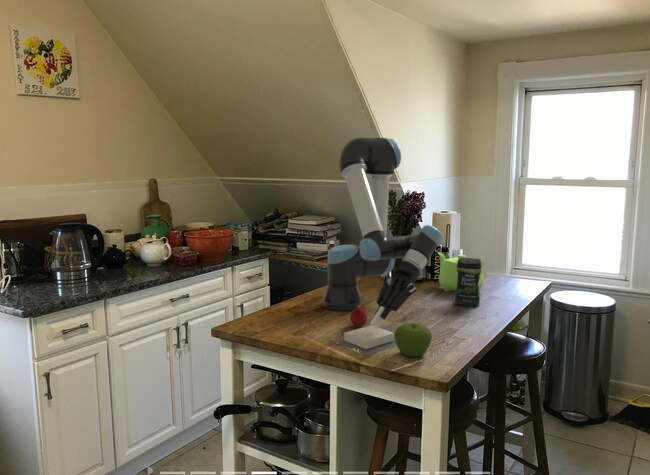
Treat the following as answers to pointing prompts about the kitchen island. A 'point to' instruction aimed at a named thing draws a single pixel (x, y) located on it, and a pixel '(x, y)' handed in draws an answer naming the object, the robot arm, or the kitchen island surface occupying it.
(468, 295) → the coffee jar
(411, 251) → the robot arm
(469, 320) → the kitchen island surface
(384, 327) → the mat
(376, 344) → the tile
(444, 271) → the teapot
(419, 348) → the apple
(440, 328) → the kitchen island surface
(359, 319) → the red pomegranate
